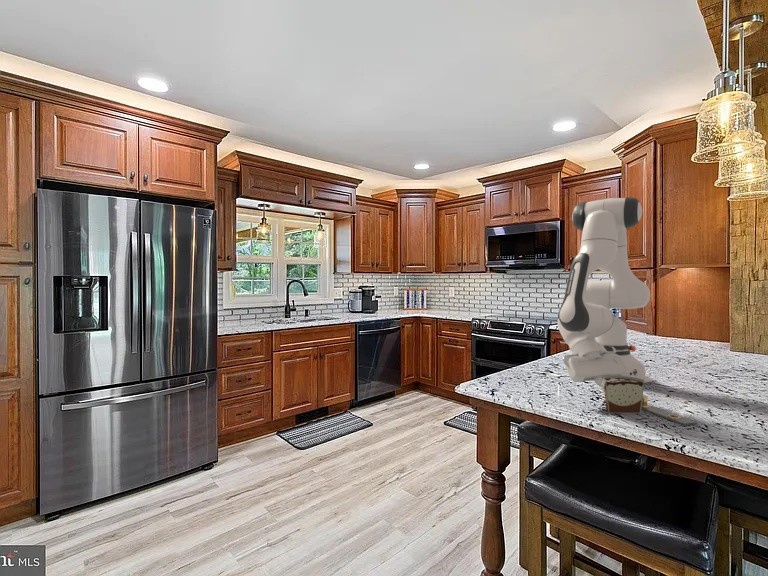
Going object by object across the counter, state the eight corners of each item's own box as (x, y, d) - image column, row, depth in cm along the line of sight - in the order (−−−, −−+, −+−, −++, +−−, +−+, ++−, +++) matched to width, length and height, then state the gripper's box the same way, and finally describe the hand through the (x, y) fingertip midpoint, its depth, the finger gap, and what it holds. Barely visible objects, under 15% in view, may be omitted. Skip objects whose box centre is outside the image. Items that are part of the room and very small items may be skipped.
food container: (633, 407, 125) (633, 375, 125) (645, 413, 119) (646, 380, 119) (593, 406, 125) (593, 375, 125) (603, 413, 119) (603, 380, 119)
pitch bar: (636, 402, 130) (636, 391, 130) (697, 424, 110) (697, 411, 110) (624, 403, 129) (625, 392, 129) (684, 425, 109) (684, 412, 109)
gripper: (565, 349, 130) (586, 387, 121) (618, 347, 135) (643, 383, 125) (556, 360, 135) (576, 398, 125) (608, 357, 139) (631, 393, 130)
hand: (610, 390), depth 125 cm, fingers closed
